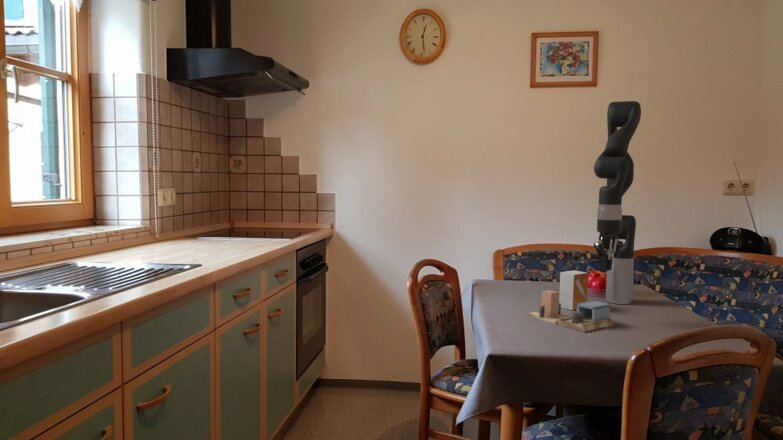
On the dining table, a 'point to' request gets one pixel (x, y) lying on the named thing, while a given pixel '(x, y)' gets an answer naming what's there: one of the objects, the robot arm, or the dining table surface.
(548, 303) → the block
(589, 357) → the dining table surface
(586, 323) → the base
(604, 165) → the robot arm
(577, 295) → the small box
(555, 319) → the pin seat
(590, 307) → the cover
